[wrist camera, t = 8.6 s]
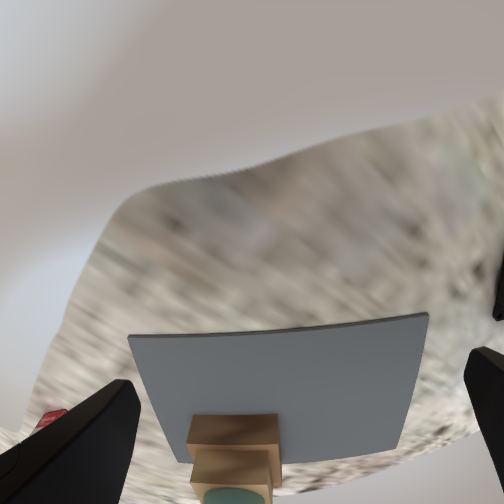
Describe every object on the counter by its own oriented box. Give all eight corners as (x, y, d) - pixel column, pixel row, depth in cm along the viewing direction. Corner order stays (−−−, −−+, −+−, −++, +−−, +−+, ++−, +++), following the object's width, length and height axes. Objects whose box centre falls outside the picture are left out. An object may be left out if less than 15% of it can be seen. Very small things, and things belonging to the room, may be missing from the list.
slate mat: (427, 312, 21) (429, 315, 20) (394, 445, 26) (395, 448, 26) (128, 335, 23) (127, 337, 22) (178, 459, 28) (177, 462, 27)
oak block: (268, 450, 21) (267, 484, 18) (272, 482, 23) (272, 513, 20) (197, 449, 22) (189, 482, 18) (210, 482, 23) (205, 511, 20)
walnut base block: (277, 413, 24) (277, 444, 21) (281, 459, 26) (281, 486, 23) (193, 414, 24) (185, 443, 21) (209, 459, 27) (204, 485, 24)
